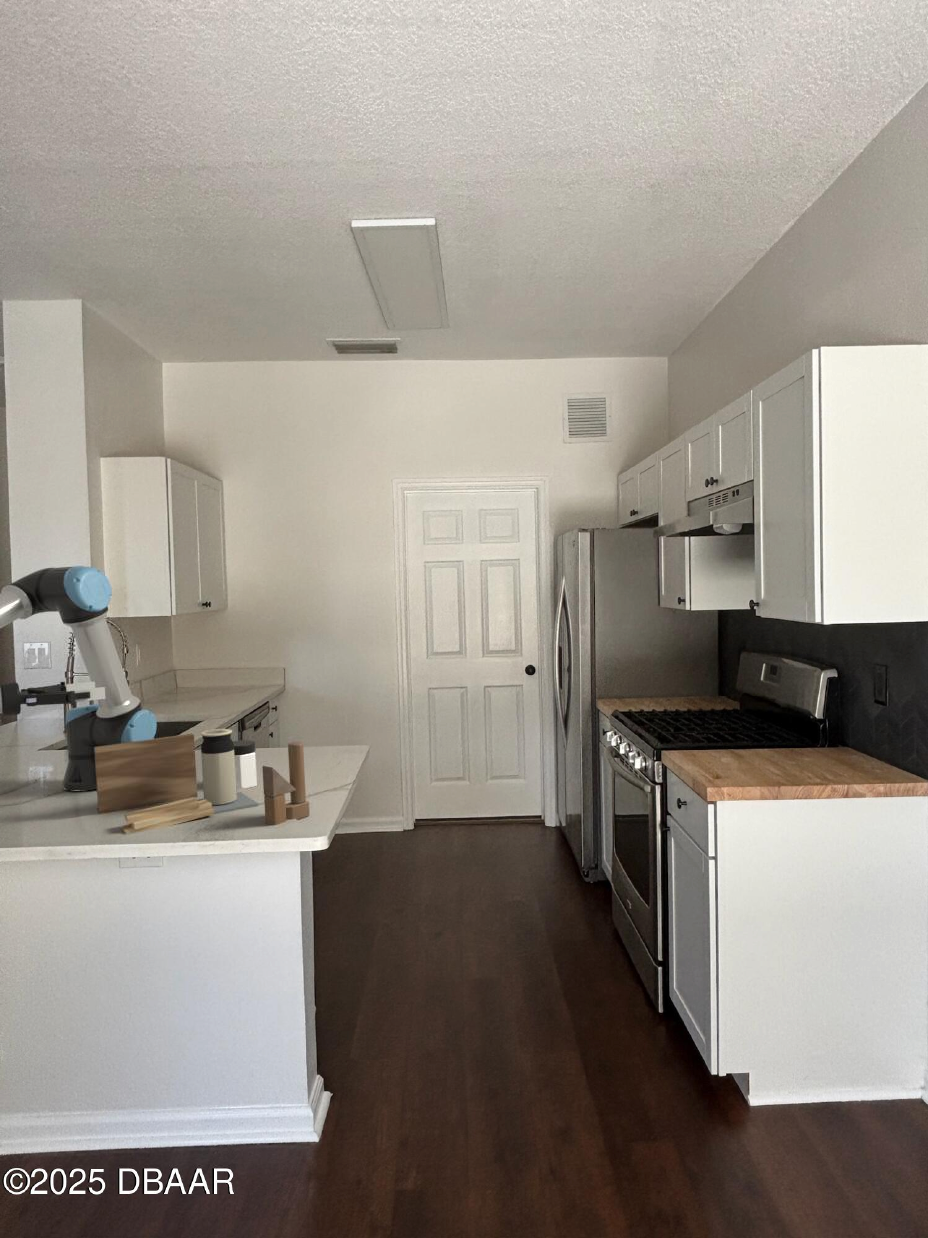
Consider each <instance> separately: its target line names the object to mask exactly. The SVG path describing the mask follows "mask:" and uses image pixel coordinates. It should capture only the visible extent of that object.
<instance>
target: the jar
mask: <svg viewBox="0 0 928 1238" xmlns="http://www.w3.org/2000/svg"><path fill="white" fill-rule="evenodd" d="M232 741H233V740H232ZM233 743H234V758H235V776H236V790H238V789H244V788H245V789H250V787H251V788H254V787H257V786H258V785H257V784H258V774H257V754H256V751H257V748H256V741H254V740H250V739H249V740H246V739H245V740H244V739H243V740H234V741H233Z"/></svg>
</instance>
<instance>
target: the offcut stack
mask: <svg viewBox="0 0 928 1238" xmlns="http://www.w3.org/2000/svg"><path fill="white" fill-rule="evenodd" d="M198 800H199V799H197V797H194V798H189V799H184V800H178V801H172V802H167V803H163V804H161V805H160V804H159V805H154V806H151V807H147V808H143V809H139V810H135V811H131V812H126V813H124V817H125V821H126V822H127V824H125V825H121V830H122V831H123V832H124V834H125V835H128V834H130V835H131V834H135V833H140V832H144V831H149V830H155V829H159V828H160V829H161V828H164V827H169V826H173V825H178V824H181V823H185V822H186V823H187V822H188V821H189V822H190V821H193V820H197V819H201V818H205V817H208V816H212V814H213V815H215V814H214V811H213V808H212V803H210V802H209V801H207V800H201V801H198Z"/></svg>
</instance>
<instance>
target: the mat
mask: <svg viewBox="0 0 928 1238" xmlns="http://www.w3.org/2000/svg"><path fill="white" fill-rule="evenodd" d="M236 794H237V799H236V800H235V801H234V802H232V803H229V804H225V805H212V808H213V811H214V814H212V815H218V814H223V813H228V812H233V811H239V810H243V809H244V810H245V809H248V808H254V807H259V803H258V802H257V801H255V800H254V799H253V798H251V797H249V796H248V795H246V794H245V793H243V792H242V791H239V792H236ZM197 800H198V801H201V800H204V798H200V799H197ZM212 815H211V816H212Z"/></svg>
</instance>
